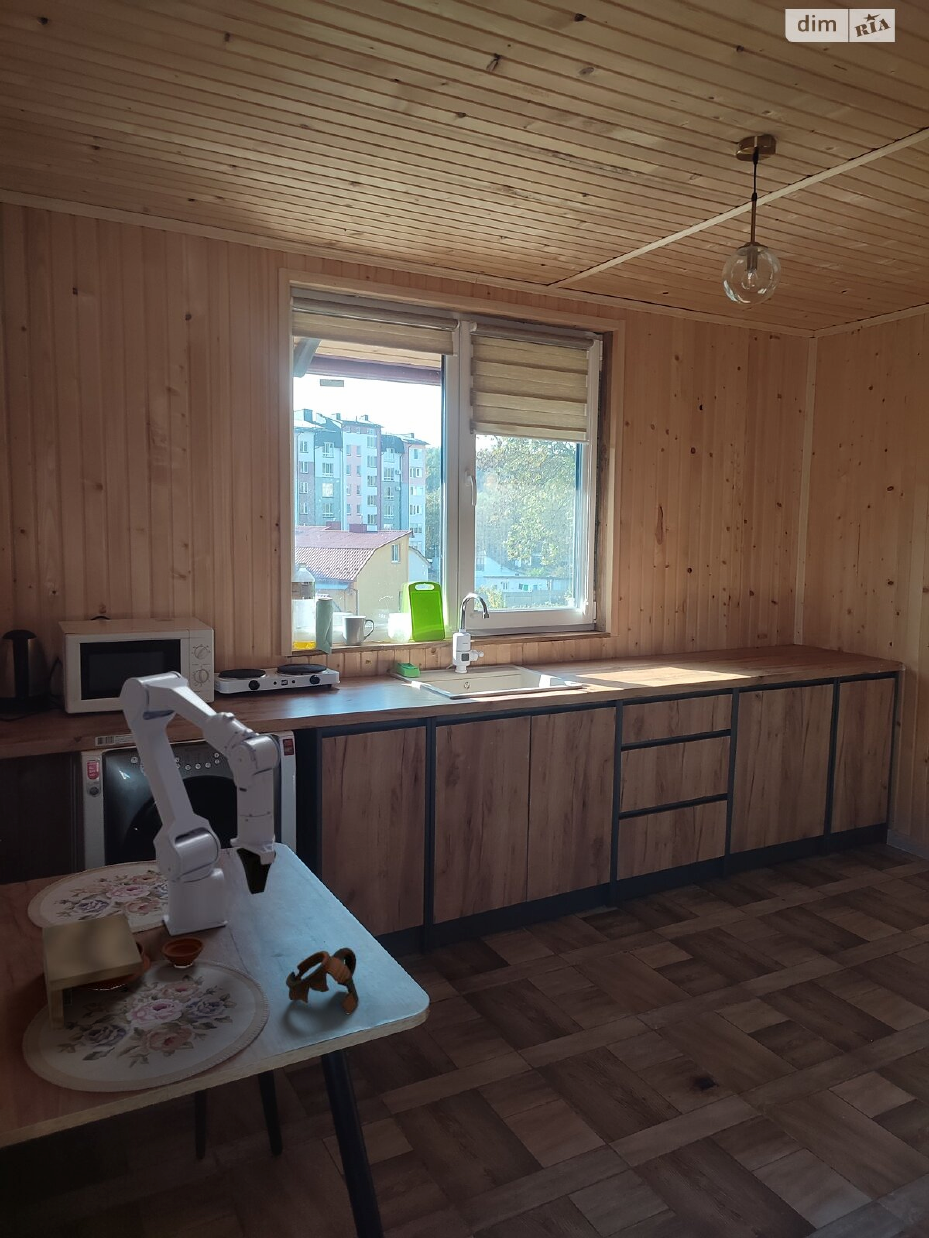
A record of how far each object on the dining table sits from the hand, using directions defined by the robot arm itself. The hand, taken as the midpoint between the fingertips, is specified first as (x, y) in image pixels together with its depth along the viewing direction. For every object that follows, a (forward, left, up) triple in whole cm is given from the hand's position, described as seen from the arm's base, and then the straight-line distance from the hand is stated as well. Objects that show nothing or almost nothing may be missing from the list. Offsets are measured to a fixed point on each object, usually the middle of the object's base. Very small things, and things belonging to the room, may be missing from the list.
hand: (256, 891), depth 145 cm
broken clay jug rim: (-5, +21, -10) cm, 24 cm away
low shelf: (+26, +2, -9) cm, 27 cm away
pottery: (+19, 0, -10) cm, 21 cm away
